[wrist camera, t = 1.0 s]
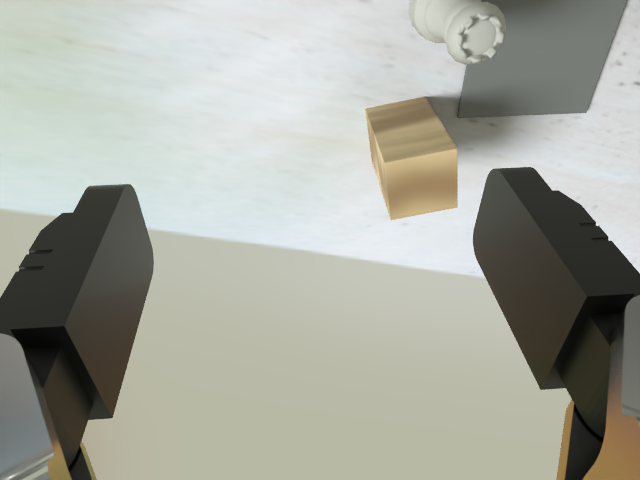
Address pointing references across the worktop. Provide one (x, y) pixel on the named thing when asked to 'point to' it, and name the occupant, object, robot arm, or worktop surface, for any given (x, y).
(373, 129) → the oak block
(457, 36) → the rook chess piece
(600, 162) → the worktop surface
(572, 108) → the mat
